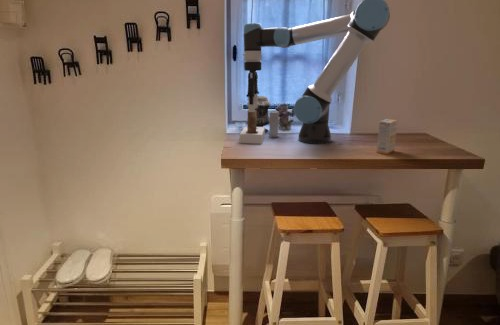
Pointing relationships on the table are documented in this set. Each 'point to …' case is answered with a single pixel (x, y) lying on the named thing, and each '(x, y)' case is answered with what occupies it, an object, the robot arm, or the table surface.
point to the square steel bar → (273, 124)
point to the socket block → (252, 135)
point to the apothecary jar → (262, 112)
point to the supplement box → (386, 136)
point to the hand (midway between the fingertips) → (253, 110)
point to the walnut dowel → (252, 122)
